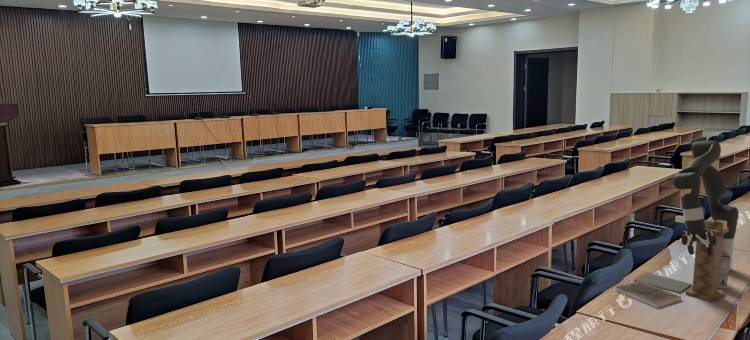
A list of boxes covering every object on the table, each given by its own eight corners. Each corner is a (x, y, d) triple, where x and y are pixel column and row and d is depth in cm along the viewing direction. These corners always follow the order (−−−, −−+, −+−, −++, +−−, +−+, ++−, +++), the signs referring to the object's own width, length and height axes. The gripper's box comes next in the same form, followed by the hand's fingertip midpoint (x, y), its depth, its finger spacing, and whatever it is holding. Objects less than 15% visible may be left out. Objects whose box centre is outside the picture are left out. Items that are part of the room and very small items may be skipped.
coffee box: (705, 280, 263) (708, 248, 260) (719, 281, 261) (722, 249, 258) (712, 287, 254) (715, 255, 251) (727, 288, 252) (731, 256, 249)
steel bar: (674, 221, 250) (675, 214, 250) (677, 220, 253) (678, 212, 252) (723, 230, 236) (724, 223, 235) (726, 228, 238) (727, 221, 237)
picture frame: (615, 291, 254) (656, 309, 235) (615, 286, 254) (656, 304, 234) (639, 284, 261) (681, 301, 242) (639, 280, 260) (681, 296, 241)
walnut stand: (685, 294, 247) (691, 227, 242) (695, 286, 255) (701, 221, 249) (714, 302, 238) (721, 233, 233) (724, 294, 246) (730, 227, 240)
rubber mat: (633, 280, 264) (633, 279, 264) (646, 273, 273) (646, 272, 273) (679, 293, 248) (679, 292, 248) (691, 285, 257) (691, 283, 257)
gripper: (715, 216, 229) (722, 253, 229) (685, 216, 242) (691, 252, 242) (703, 219, 226) (710, 257, 226) (673, 219, 239) (680, 255, 239)
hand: (701, 254), depth 234 cm, fingers open, 8 cm apart
